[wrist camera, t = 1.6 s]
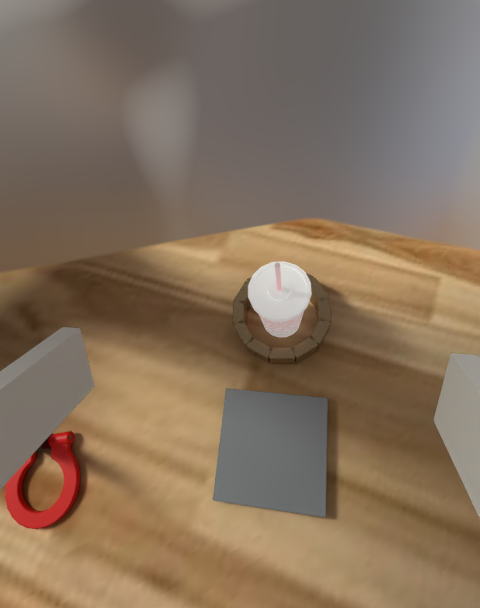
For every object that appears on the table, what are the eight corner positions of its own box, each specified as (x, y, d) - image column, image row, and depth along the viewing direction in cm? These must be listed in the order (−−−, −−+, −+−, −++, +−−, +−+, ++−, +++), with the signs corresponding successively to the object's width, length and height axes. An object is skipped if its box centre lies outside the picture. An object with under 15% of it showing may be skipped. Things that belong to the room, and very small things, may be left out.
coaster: (214, 498, 35) (212, 500, 34) (227, 389, 39) (226, 388, 38) (324, 515, 33) (325, 517, 32) (326, 398, 37) (327, 397, 36)
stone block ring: (220, 336, 41) (215, 328, 38) (264, 265, 44) (263, 253, 41) (300, 381, 38) (301, 377, 35) (343, 301, 40) (347, 291, 38)
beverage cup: (303, 347, 39) (310, 304, 26) (251, 339, 40) (233, 294, 27) (310, 299, 41) (319, 237, 28) (261, 292, 42) (248, 229, 29)
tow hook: (83, 519, 36) (82, 428, 39) (-21, 571, 24) (-10, 434, 27) (10, 531, 37) (15, 440, 40) (-126, 587, 25) (-104, 451, 28)
